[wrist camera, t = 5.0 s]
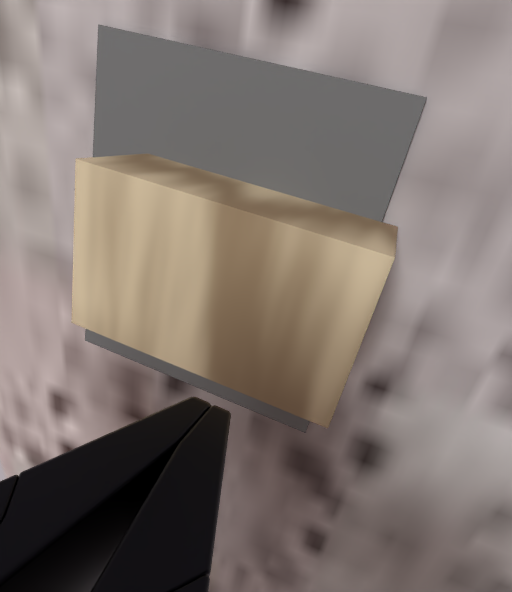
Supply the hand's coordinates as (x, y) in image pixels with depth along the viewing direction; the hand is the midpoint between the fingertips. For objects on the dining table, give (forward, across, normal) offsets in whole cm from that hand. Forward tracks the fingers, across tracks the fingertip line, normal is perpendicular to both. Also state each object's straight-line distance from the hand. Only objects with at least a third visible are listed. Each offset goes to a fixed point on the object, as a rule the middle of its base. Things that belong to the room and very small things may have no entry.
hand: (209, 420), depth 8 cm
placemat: (+9, +4, 0) cm, 10 cm away
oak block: (+7, -2, 0) cm, 7 cm away
